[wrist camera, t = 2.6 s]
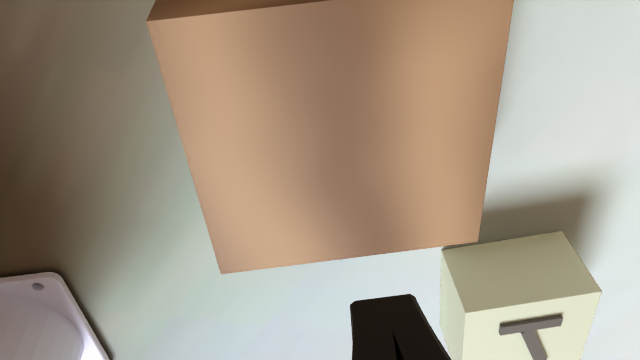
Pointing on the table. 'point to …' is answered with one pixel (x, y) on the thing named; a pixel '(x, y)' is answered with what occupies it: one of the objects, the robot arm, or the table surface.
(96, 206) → the table surface
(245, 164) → the plain walnut block
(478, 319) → the numbered block seven
